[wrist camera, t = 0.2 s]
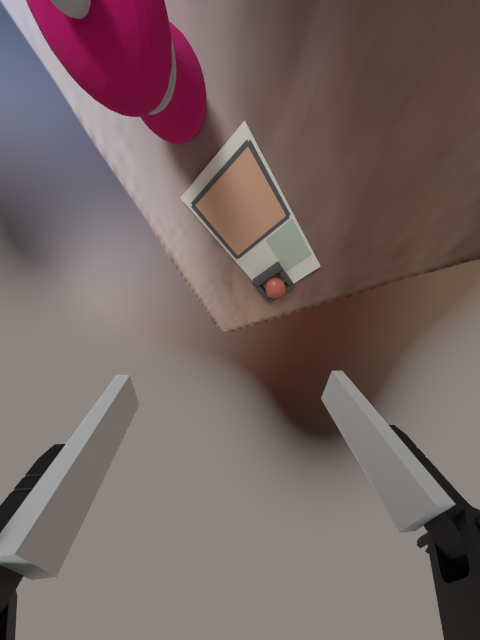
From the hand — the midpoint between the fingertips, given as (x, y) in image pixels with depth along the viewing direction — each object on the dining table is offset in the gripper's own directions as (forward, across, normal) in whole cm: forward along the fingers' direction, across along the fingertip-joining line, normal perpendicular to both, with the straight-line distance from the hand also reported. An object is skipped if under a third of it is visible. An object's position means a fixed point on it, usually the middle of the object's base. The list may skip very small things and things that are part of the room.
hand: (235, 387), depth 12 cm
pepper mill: (+22, -6, +22) cm, 32 cm away
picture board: (+25, +5, +9) cm, 27 cm away
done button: (+25, +9, +1) cm, 26 cm away
